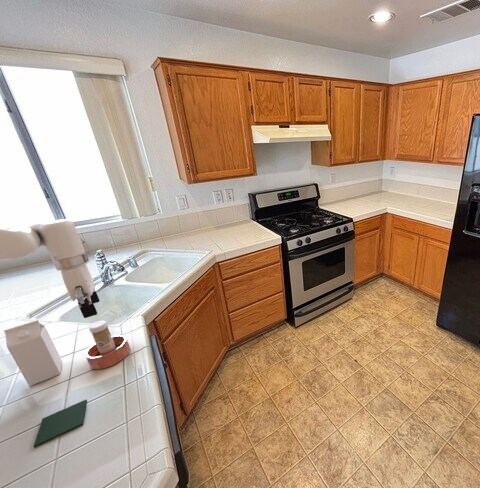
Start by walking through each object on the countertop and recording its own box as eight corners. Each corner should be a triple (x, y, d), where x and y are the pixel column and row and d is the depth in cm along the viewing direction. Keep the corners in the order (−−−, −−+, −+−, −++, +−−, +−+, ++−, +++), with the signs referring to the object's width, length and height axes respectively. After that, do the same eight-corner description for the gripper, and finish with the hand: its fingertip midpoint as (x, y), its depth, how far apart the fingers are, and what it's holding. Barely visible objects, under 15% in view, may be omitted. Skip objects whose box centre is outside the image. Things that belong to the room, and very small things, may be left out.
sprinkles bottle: (100, 363, 88) (86, 330, 83) (104, 354, 92) (90, 322, 87) (117, 358, 90) (104, 325, 85) (120, 350, 94) (107, 318, 89)
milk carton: (33, 373, 86) (6, 325, 80) (62, 362, 90) (39, 315, 84) (29, 386, 81) (0, 336, 74) (60, 374, 85) (35, 325, 79)
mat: (34, 448, 63) (33, 446, 63) (43, 420, 70) (42, 418, 70) (83, 424, 68) (82, 423, 67) (87, 400, 75) (86, 399, 74)
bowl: (88, 376, 83) (83, 363, 82) (92, 356, 92) (87, 344, 90) (131, 359, 90) (126, 347, 88) (130, 342, 98) (126, 331, 97)
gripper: (60, 256, 83) (80, 302, 89) (47, 274, 70) (73, 327, 76) (90, 250, 88) (108, 294, 93) (84, 265, 74) (105, 316, 80)
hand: (92, 309), depth 85 cm, fingers open, 9 cm apart
